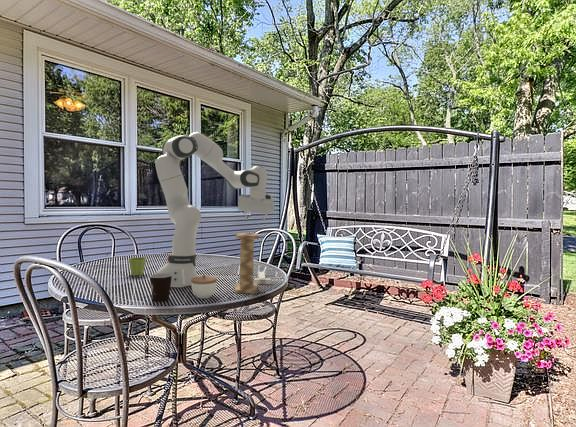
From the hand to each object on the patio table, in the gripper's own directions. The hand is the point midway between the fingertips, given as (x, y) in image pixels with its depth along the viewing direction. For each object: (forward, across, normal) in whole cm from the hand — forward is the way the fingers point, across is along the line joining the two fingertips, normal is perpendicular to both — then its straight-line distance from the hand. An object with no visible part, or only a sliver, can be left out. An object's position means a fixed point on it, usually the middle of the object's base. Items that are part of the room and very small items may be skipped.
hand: (255, 220), depth 203 cm
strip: (+31, +6, -10) cm, 33 cm away
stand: (+33, -2, -31) cm, 45 cm away
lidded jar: (+36, -20, -43) cm, 59 cm away
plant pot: (+35, -61, +3) cm, 70 cm away
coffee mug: (+37, -37, -45) cm, 69 cm away
